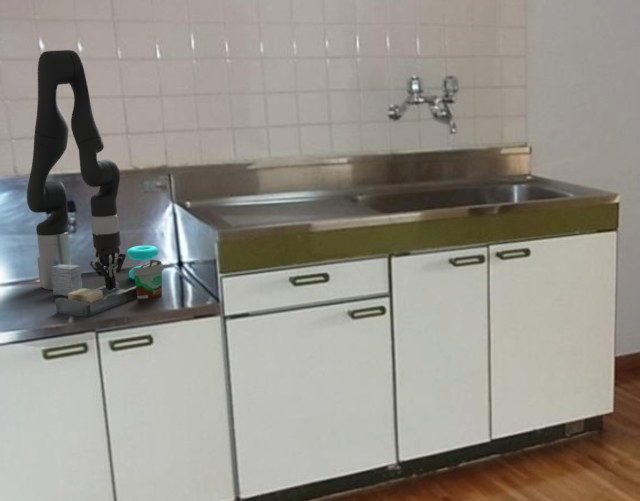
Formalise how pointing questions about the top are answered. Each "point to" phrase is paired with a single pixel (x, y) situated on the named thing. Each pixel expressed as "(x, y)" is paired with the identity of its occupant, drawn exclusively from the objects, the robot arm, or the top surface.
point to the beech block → (86, 295)
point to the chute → (96, 302)
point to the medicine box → (65, 279)
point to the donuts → (141, 255)
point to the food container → (149, 280)
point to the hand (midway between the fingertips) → (110, 288)
